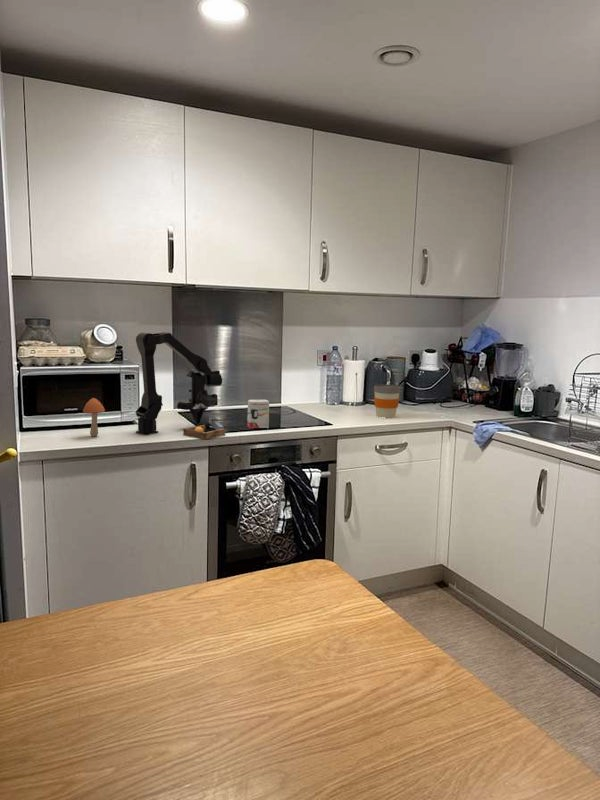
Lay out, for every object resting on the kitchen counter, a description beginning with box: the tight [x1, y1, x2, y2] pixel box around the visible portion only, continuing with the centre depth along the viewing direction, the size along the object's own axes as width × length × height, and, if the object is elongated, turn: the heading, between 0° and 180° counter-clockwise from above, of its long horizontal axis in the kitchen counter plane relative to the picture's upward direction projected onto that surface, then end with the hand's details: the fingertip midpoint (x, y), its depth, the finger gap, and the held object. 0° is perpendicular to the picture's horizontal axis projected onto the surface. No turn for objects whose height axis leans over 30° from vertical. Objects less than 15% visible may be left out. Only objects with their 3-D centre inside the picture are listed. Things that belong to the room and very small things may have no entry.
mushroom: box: [82, 397, 106, 437], centre depth 219 cm, size 8×8×15 cm
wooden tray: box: [183, 424, 226, 440], centre depth 227 cm, size 11×12×2 cm
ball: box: [195, 427, 204, 432], centre depth 225 cm, size 4×4×4 cm
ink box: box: [246, 399, 270, 430], centre depth 243 cm, size 9×5×12 cm, turn 105°
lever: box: [208, 416, 224, 430], centre depth 239 cm, size 3×21×3 cm, turn 20°
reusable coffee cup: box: [373, 384, 401, 419], centre depth 276 cm, size 13×13×15 cm
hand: (197, 423), depth 242 cm, fingers closed
